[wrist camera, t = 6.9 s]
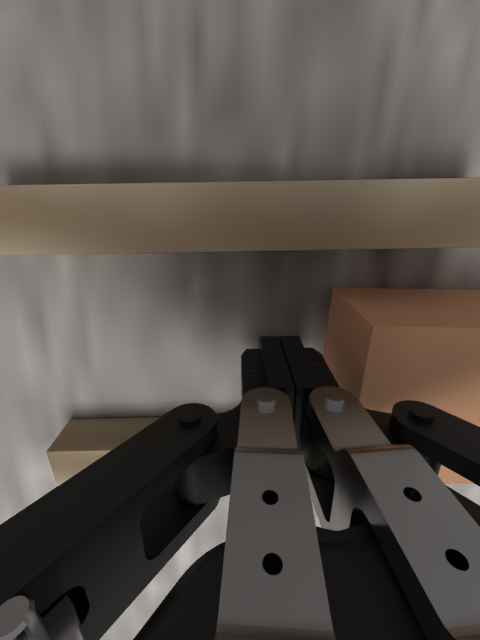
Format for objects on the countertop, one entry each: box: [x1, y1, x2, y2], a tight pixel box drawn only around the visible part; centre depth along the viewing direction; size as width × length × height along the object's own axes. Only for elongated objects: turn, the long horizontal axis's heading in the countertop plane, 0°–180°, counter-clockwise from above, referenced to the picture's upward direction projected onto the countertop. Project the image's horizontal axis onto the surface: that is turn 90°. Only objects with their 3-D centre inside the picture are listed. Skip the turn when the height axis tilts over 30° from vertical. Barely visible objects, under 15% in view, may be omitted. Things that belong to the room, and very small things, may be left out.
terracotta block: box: [323, 287, 480, 483], centre depth 12 cm, size 6×6×4 cm
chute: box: [0, 178, 480, 486], centre depth 12 cm, size 12×16×2 cm
